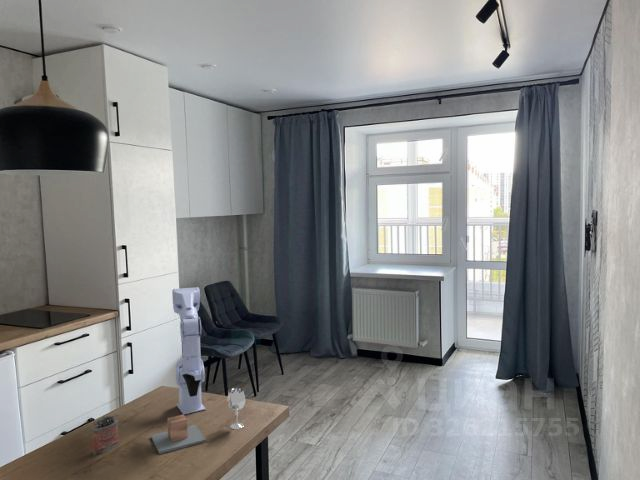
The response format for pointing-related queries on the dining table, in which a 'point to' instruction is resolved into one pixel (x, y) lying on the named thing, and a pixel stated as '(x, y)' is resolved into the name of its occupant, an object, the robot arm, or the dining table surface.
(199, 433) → the mat
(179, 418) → the block
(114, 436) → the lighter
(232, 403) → the wineglass
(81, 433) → the dining table surface
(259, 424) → the dining table surface
